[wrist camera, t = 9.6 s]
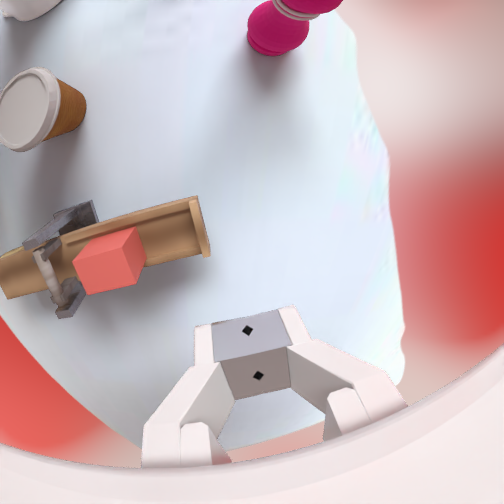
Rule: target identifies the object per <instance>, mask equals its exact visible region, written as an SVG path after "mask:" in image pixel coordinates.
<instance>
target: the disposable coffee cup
mask: <svg viewBox="0 0 504 504" xmlns="http://www.w3.org/2000/svg"><path fill="white" fill-rule="evenodd" d="M85 112H86V100H85V98H84V96H83V94H82V93H81V92H79V91H78V90H76V89H74V88H72V87H71V86H69V85H67V84H66V83H64V82H62V81H61V80H59V79H57V78H56V77H55V76H54V75H53V73H52V72H51V71H49V70H48V69H46V68H43V67H33V68H29V69H27V70H25V71H22V72H20V73H18V74H17V75H15V76H14V77H13V78H12V79H11V80H10V81H9V82H8V83H7V84H6V86H5V87H4V89H3V90H2V92H1V94H0V142H1V143H2V144H3V145H4V146H6V147H7V148H9V149H11V150H13V151H16V152H25V151H28V150H30V149H32V148H34V147H36V146H37V145H38V144H39V143H40V142H43V141H45V140H48V139H50V138H53V137H55V136H58V135H61V134H64V133H67V132H70V131H72V130H74V129H75V128H77V127H78V126H79V125H80V123H81V122H82V120H83V118H84V116H85Z"/></svg>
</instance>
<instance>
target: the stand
mask: <svg viewBox="0 0 504 504" xmlns="http://www.w3.org/2000/svg"><path fill="white" fill-rule="evenodd" d="M53 216H54V220H52V221H51V222H49V223H48V224H47V225H45V226H44V227H43V228H41V229H40V230H38V231H37V232H36V233H34V234H33V235H32V236H31V237H29V238H28V239H27V240H25V241H24V242H23V243H22V244H23V247H24V249H25V251H27V250H30V249H33V248H35V247H38V246H40V245H41V244H42V243H43V242H44V241H46V240H47V239H48V238H49V237H50V236H52V235H53V234H54V233H55V232H56V231H58V230H59V233H60V235H63V234H66V233H69V232H72V231H75V230H78V229H81V228H84V227H87V226H90V225H93V224H96V223H99V220H98V217H97V214H96V211H95V208H94V205H93V202H92V200H90V201H87V202H84V203H82V204H79V205H76V206H73V207H71V208H68V209H65V210H63V211H60V212H58V213H55V214H54V215H53ZM85 295H86V291H85V289H84V287H83V285H82V283H81V281H78V283H77V284H76V285H75V287H74V288H73V290H72V291H71V293H70V294H69V296H68V297H67V299H68V302H67V303H66V304H65V305H63V306H61V307H58V308H57V310H56V311H55V313H56V315H57V317H58V319H61V318H67V317H73V315H74V313H75V312H76V310H77V308H78V306H79V305H80V303H81V301H82V300H83V298H84V296H85Z"/></svg>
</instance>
